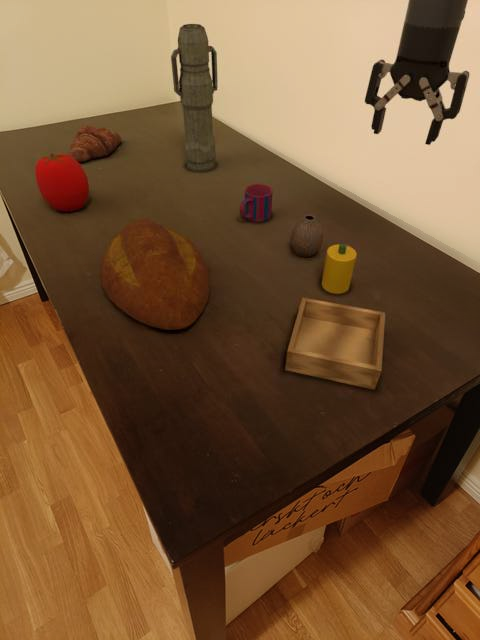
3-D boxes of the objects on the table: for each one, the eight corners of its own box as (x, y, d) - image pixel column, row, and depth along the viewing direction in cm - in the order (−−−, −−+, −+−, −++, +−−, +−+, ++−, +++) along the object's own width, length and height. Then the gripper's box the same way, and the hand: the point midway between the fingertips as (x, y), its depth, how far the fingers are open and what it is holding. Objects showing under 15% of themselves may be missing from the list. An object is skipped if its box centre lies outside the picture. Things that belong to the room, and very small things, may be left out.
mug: (276, 215, 107) (278, 190, 103) (248, 230, 102) (249, 204, 98) (257, 205, 111) (258, 181, 106) (229, 220, 106) (228, 194, 101)
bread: (119, 354, 74) (103, 300, 65) (94, 252, 96) (80, 201, 87) (233, 323, 79) (232, 269, 71) (185, 233, 101) (179, 184, 93)
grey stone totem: (176, 164, 129) (162, 25, 105) (211, 155, 133) (204, 20, 109) (189, 175, 124) (177, 31, 99) (225, 166, 128) (221, 26, 104)
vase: (326, 251, 96) (332, 216, 90) (308, 264, 92) (313, 229, 86) (301, 239, 99) (305, 205, 93) (283, 252, 96) (286, 217, 90)
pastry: (74, 143, 141) (67, 118, 135) (122, 140, 143) (117, 114, 137) (69, 165, 129) (61, 138, 123) (121, 161, 131) (115, 134, 125)
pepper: (350, 279, 89) (359, 239, 82) (347, 296, 85) (356, 256, 78) (323, 274, 90) (330, 235, 83) (319, 291, 86) (326, 251, 79)
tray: (379, 331, 78) (385, 312, 74) (374, 390, 68) (381, 370, 65) (299, 316, 81) (302, 297, 77) (285, 370, 71) (287, 350, 68)
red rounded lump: (35, 214, 108) (14, 158, 98) (61, 193, 116) (44, 140, 106) (78, 221, 105) (62, 165, 95) (102, 200, 113) (89, 146, 103)
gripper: (374, 19, 60) (353, 136, 71) (483, 29, 55) (441, 155, 66) (390, 11, 65) (368, 123, 76) (492, 20, 59) (452, 139, 70)
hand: (402, 137), depth 71 cm, fingers open, 8 cm apart
